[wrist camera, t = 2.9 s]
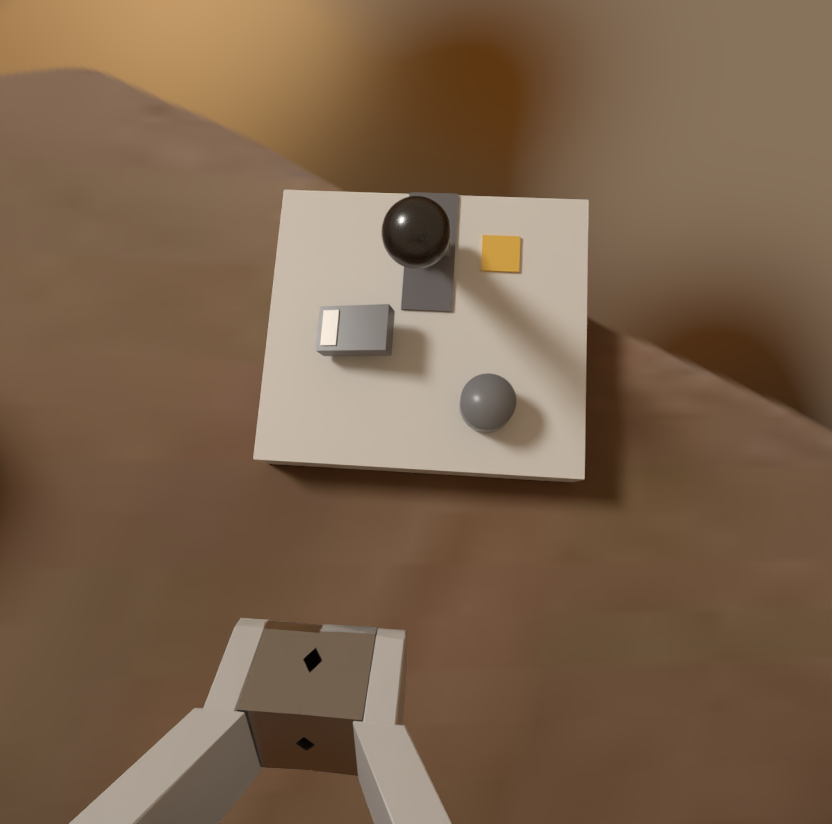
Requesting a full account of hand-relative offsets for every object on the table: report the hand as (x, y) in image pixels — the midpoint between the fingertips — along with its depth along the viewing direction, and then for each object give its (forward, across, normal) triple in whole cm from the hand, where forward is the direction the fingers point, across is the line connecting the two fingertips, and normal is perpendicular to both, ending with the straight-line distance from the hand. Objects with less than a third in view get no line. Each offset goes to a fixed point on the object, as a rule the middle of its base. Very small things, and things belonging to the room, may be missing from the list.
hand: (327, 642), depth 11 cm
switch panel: (+29, 0, +9) cm, 31 cm away
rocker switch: (+26, +4, +7) cm, 27 cm away
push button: (+23, -4, +10) cm, 26 cm away
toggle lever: (+30, 0, +2) cm, 30 cm away
